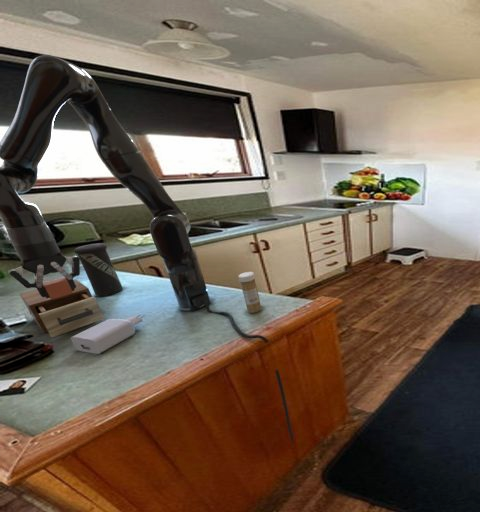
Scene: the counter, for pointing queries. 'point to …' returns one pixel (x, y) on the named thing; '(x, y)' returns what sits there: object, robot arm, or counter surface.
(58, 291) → the block
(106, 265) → the container
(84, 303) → the drawer
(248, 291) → the sprinkles bottle
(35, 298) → the cabinet
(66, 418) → the counter surface
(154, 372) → the counter surface
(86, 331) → the charger
